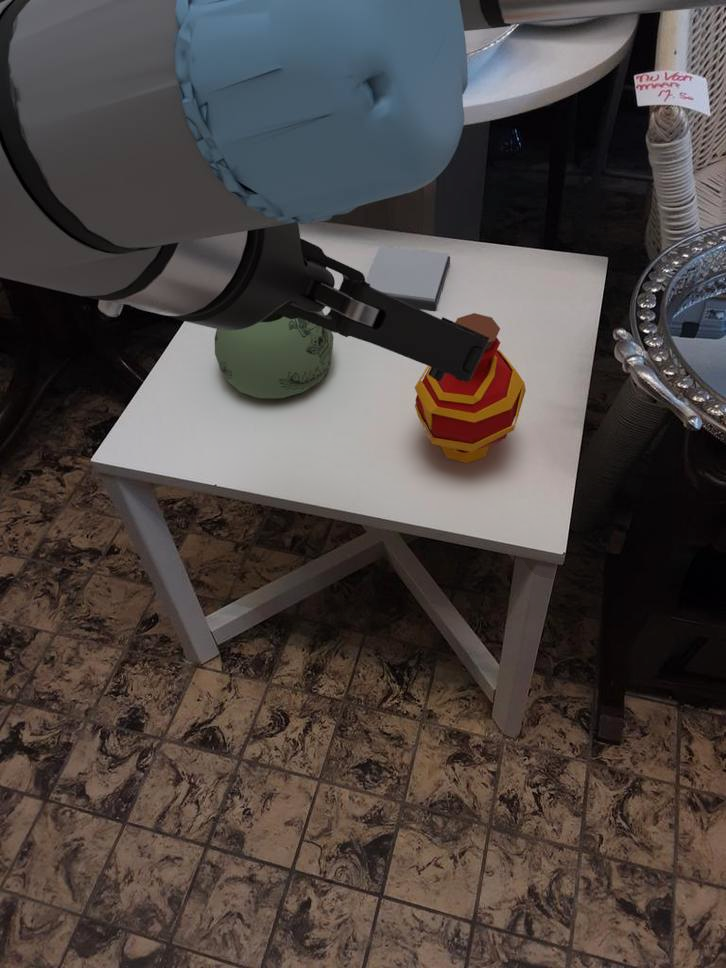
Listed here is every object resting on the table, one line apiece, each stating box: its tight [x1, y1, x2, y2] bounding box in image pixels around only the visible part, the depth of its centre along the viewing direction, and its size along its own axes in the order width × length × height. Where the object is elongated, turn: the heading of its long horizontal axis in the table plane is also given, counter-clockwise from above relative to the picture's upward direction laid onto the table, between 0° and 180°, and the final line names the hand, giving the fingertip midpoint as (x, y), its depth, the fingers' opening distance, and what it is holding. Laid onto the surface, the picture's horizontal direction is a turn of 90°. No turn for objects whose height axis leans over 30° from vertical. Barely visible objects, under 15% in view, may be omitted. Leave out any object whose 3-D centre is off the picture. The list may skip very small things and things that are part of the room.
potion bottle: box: [414, 312, 527, 464], centre depth 72 cm, size 10×10×15 cm
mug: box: [214, 310, 334, 399], centre depth 83 cm, size 16×13×9 cm
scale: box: [365, 245, 451, 312], centre depth 93 cm, size 9×9×2 cm
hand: (392, 314), depth 53 cm, fingers open, 13 cm apart
